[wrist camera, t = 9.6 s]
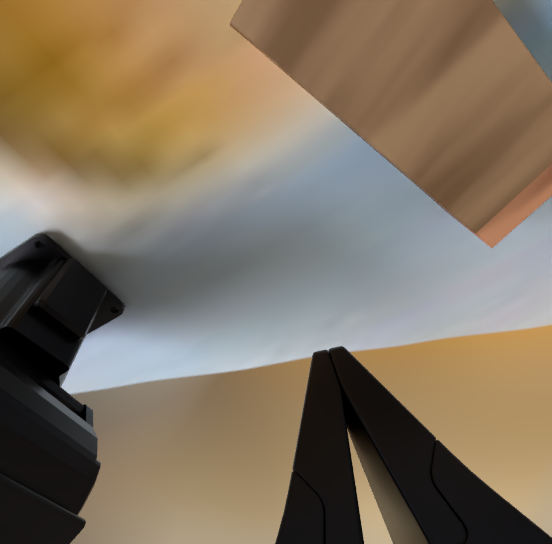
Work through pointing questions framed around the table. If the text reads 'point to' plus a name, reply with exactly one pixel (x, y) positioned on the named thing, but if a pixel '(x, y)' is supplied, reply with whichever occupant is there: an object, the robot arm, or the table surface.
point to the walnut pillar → (425, 95)
